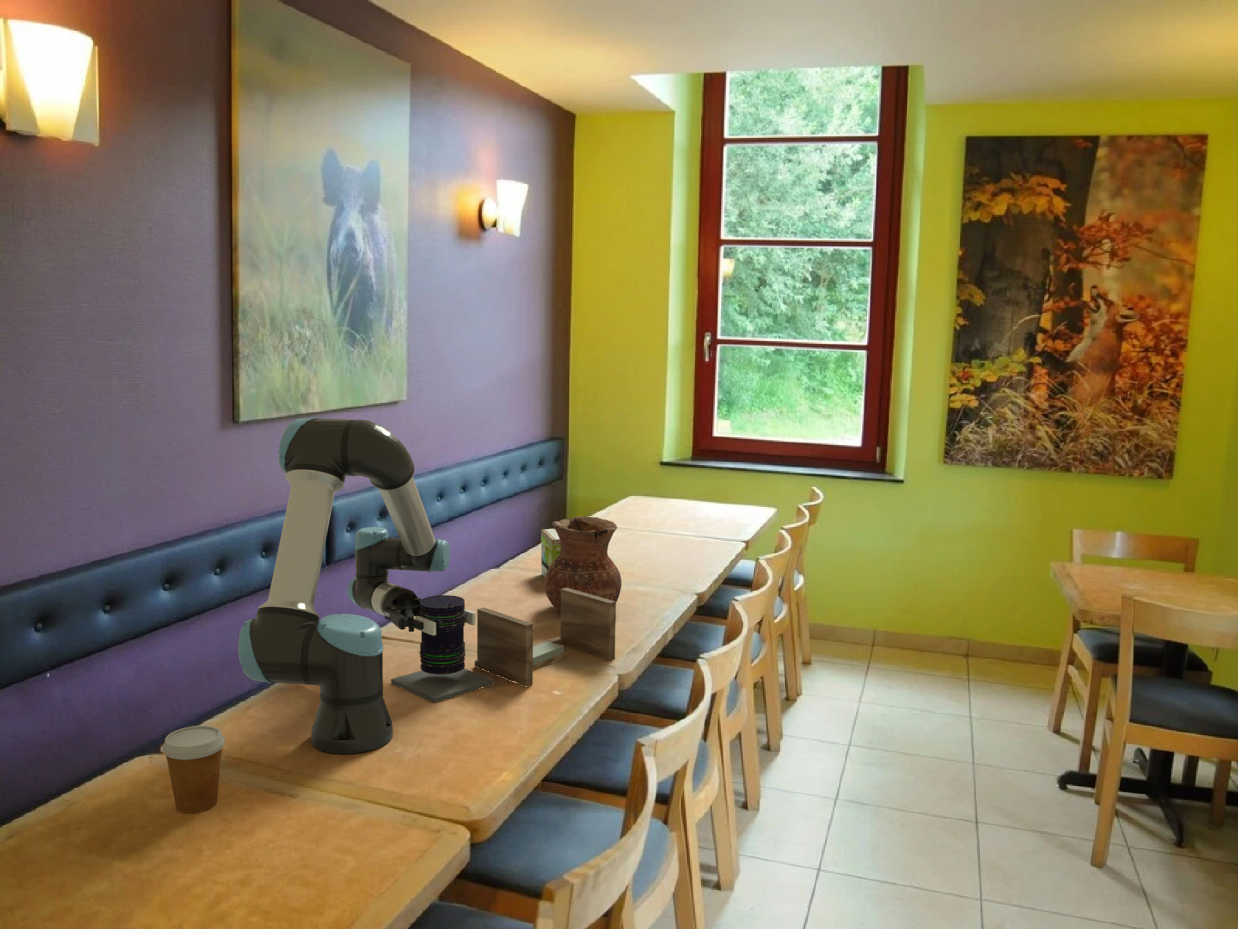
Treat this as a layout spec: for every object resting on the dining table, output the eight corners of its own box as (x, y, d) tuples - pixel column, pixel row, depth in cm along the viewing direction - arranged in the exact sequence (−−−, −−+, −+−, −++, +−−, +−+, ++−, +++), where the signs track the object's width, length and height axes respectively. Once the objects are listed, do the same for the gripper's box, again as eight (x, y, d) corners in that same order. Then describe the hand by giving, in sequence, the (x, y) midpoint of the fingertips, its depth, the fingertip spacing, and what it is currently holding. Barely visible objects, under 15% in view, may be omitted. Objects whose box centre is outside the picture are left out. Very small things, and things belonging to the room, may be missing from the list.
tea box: (540, 574, 325) (540, 528, 323) (571, 572, 328) (571, 526, 326) (551, 586, 311) (551, 538, 309) (583, 584, 314) (584, 536, 312)
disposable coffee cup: (205, 822, 165) (202, 750, 164) (152, 815, 167) (149, 744, 166) (238, 795, 175) (236, 727, 173) (188, 789, 177) (185, 722, 175)
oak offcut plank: (530, 673, 238) (530, 666, 238) (512, 667, 242) (512, 660, 242) (567, 661, 247) (567, 653, 247) (549, 655, 251) (549, 648, 251)
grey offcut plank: (533, 665, 239) (533, 657, 238) (516, 660, 242) (516, 653, 241) (563, 653, 247) (563, 646, 247) (547, 648, 250) (547, 641, 250)
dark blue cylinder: (411, 666, 228) (410, 600, 226) (448, 656, 235) (447, 592, 233) (437, 678, 221) (436, 610, 219) (474, 667, 228) (474, 602, 226)
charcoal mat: (434, 703, 217) (434, 698, 217) (391, 683, 228) (391, 679, 228) (494, 684, 229) (494, 680, 228) (450, 666, 239) (450, 662, 239)
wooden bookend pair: (525, 687, 227) (526, 625, 225) (474, 667, 240) (474, 608, 238) (614, 658, 247) (615, 601, 245) (563, 641, 260) (564, 586, 258)
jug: (632, 618, 280) (634, 527, 276) (558, 625, 272) (559, 532, 269) (603, 597, 300) (605, 512, 297) (534, 603, 293) (534, 516, 289)
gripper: (435, 608, 247) (495, 629, 232) (353, 628, 231) (411, 652, 216) (435, 578, 246) (495, 597, 231) (352, 595, 230) (410, 617, 215)
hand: (454, 624), depth 223 cm, fingers closed on dark blue cylinder, 10 cm apart
